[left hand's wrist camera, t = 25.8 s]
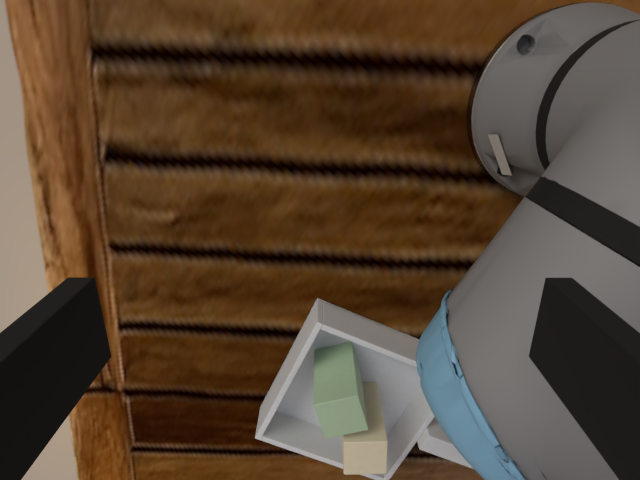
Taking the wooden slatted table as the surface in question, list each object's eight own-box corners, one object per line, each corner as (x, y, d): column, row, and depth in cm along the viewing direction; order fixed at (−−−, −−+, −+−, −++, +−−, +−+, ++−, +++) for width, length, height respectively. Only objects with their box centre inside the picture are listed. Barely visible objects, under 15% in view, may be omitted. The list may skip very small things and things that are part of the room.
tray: (260, 406, 48) (253, 446, 43) (317, 297, 43) (317, 328, 38) (475, 483, 52) (492, 528, 47) (550, 392, 47) (578, 431, 42)
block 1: (351, 340, 44) (358, 395, 37) (360, 371, 45) (368, 430, 38) (314, 349, 44) (313, 405, 37) (324, 379, 46) (325, 439, 38)
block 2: (376, 381, 46) (387, 441, 39) (376, 411, 47) (386, 474, 40) (339, 382, 46) (343, 442, 39) (340, 411, 47) (343, 475, 40)
